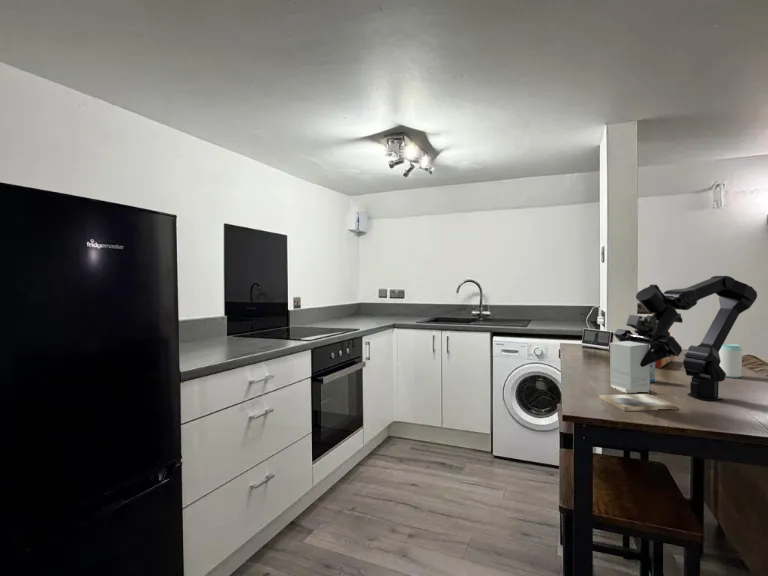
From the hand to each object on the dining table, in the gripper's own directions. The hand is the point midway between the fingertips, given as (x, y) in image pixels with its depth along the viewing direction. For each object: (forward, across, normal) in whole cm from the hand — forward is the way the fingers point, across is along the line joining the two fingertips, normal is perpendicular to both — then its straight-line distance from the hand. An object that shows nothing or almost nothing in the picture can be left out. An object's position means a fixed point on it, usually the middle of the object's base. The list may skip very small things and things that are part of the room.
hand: (629, 363), depth 123 cm
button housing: (-1, -14, +20) cm, 24 cm away
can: (-37, -18, +56) cm, 69 cm away
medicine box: (-11, -22, +30) cm, 39 cm away
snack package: (-32, -42, +52) cm, 75 cm away
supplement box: (+5, 0, +5) cm, 7 cm away
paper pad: (+6, -1, +12) cm, 13 cm away
